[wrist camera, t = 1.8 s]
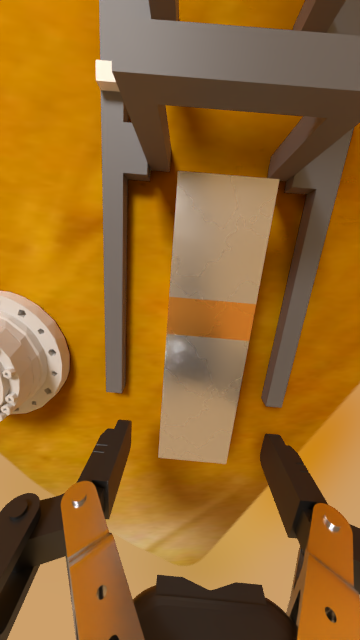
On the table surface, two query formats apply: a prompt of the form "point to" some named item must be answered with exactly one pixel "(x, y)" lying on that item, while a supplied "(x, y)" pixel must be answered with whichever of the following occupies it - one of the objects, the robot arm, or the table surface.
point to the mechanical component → (29, 356)
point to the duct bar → (211, 308)
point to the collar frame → (226, 94)
